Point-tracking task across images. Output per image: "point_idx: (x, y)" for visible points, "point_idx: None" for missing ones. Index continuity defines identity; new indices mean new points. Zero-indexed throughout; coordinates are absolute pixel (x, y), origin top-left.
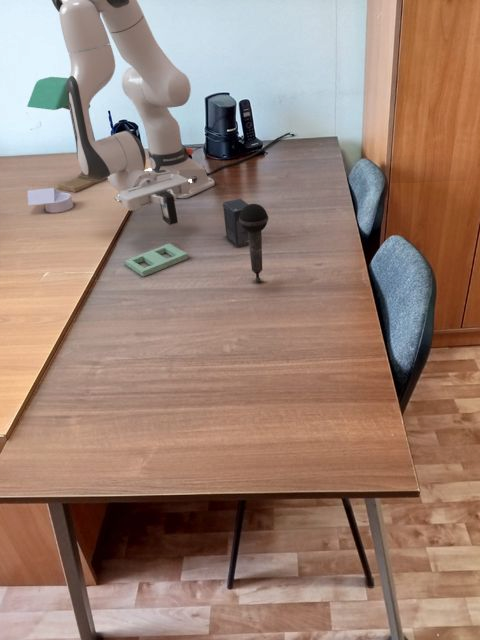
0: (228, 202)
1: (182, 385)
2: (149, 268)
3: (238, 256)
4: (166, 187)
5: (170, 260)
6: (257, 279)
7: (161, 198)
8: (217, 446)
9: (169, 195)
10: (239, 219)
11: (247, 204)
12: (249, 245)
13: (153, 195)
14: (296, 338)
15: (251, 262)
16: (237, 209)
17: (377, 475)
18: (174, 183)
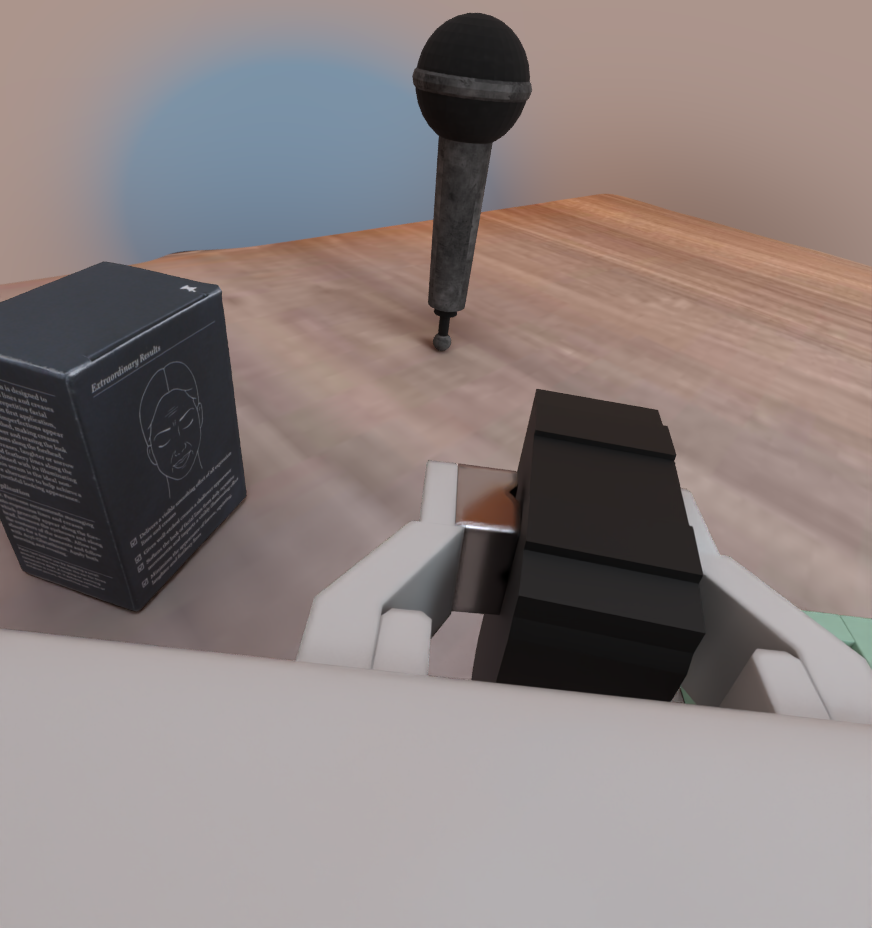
0: (58, 348)
1: (805, 307)
2: (820, 614)
3: (329, 454)
4: (386, 676)
5: None
6: (447, 335)
7: (696, 510)
8: (781, 258)
9: (580, 412)
10: (527, 85)
11: (64, 279)
12: (480, 206)
13: (837, 672)
14: (543, 262)
15: (469, 274)
16: (185, 283)
17: (629, 201)
18: (4, 687)
